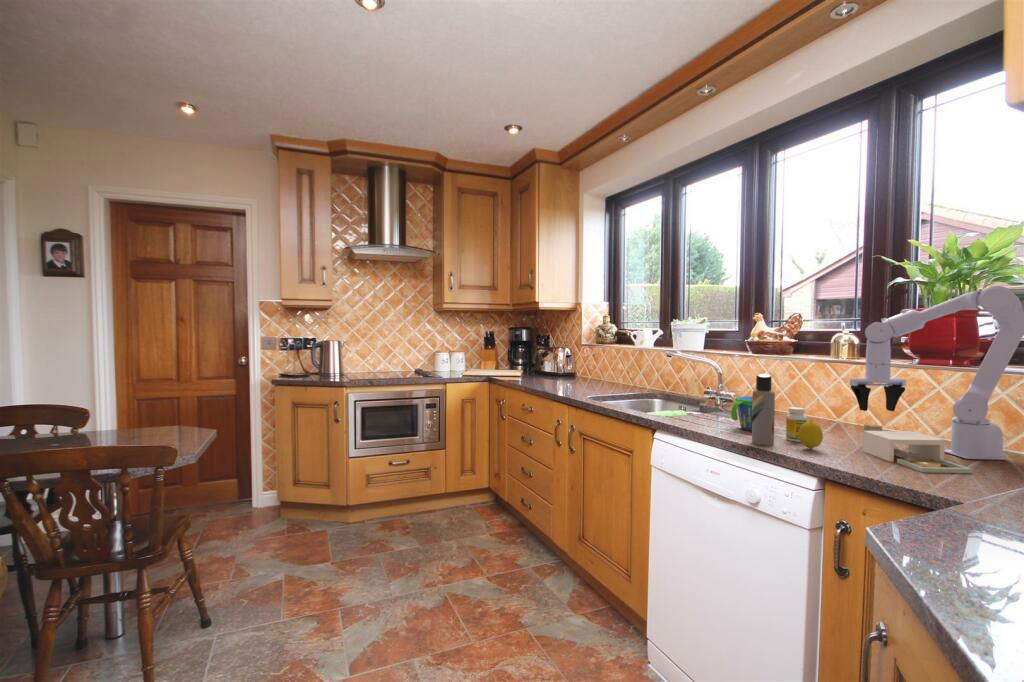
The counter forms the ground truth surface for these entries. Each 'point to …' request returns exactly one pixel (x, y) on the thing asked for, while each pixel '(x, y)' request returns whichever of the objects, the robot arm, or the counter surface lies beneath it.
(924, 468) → the tray
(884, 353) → the robot arm
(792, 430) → the supplement bottle
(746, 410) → the snack cup
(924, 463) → the token
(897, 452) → the push slider
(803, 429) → the lemon
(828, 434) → the counter surface
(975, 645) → the counter surface
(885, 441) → the ivory tunnel cover
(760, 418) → the lotion bottle
